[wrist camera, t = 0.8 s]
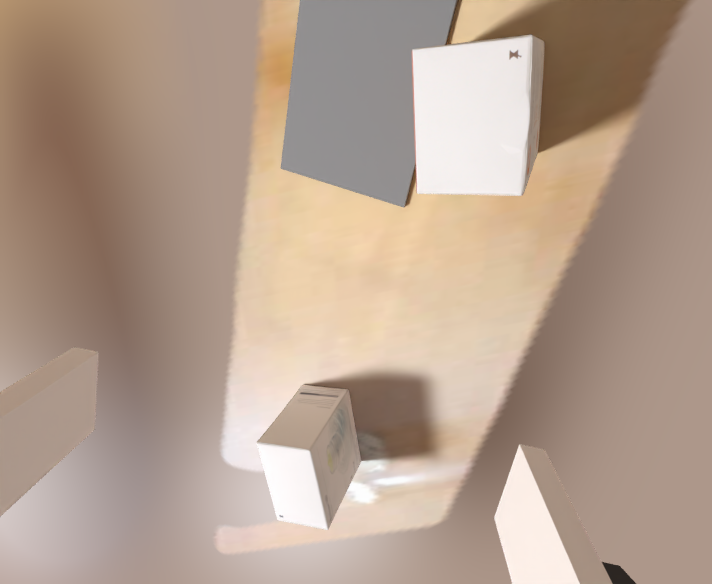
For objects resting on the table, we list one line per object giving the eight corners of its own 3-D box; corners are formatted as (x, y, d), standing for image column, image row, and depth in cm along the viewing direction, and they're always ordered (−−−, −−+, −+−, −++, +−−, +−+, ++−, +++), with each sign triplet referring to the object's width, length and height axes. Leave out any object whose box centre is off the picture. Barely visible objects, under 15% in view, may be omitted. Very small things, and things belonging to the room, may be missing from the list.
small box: (456, 48, 37) (409, 45, 26) (545, 39, 35) (536, 30, 24) (456, 158, 40) (414, 196, 29) (538, 156, 38) (526, 196, 27)
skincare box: (364, 461, 58) (328, 533, 50) (317, 453, 61) (274, 520, 52) (351, 388, 54) (310, 452, 46) (301, 383, 57) (252, 442, 48)
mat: (313, -94, 36) (310, -96, 36) (474, -67, 34) (473, -68, 33) (282, 167, 46) (280, 168, 46) (405, 206, 43) (403, 207, 43)
